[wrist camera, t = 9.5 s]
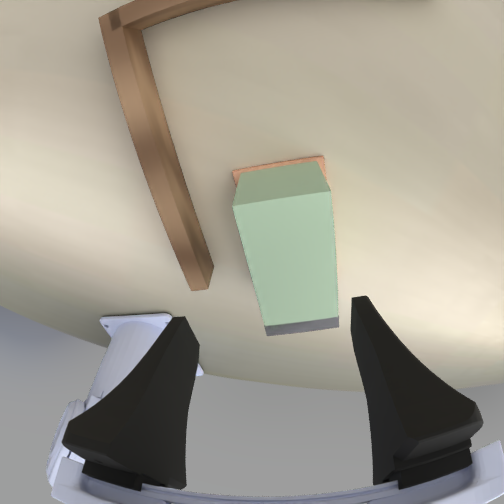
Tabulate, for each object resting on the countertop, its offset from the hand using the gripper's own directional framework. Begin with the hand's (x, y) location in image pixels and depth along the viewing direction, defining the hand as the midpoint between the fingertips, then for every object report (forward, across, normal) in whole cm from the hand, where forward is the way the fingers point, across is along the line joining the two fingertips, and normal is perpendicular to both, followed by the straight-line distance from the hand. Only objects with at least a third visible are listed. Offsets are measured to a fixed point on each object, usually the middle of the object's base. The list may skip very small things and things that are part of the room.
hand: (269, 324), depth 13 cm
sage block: (+8, -1, 0) cm, 8 cm away
